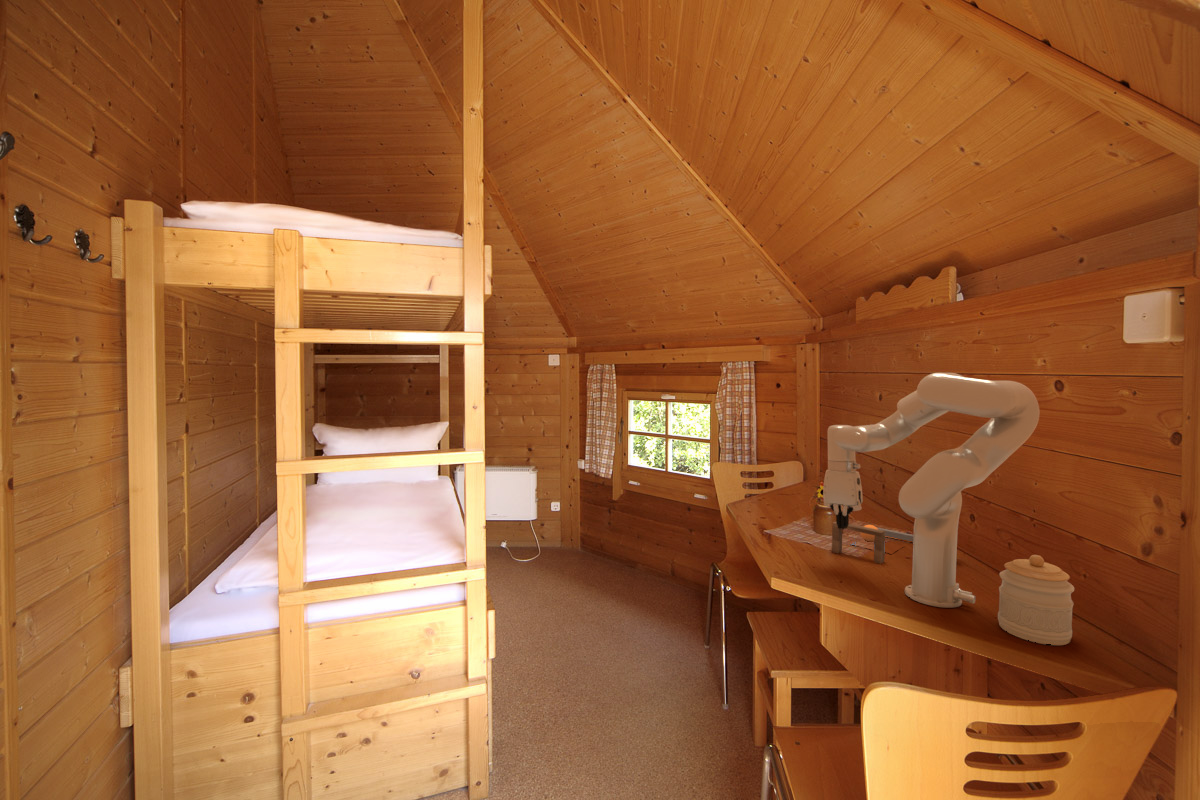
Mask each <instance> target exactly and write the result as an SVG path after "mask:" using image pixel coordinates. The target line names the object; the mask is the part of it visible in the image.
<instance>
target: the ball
mask: <svg viewBox="0 0 1200 800" xmlns="http://www.w3.org/2000/svg"><path fill="white" fill-rule="evenodd" d="M863 527H867V528H872V529H877V530H878V528H879V527H876V526H875V525H874V524H867V525H866V524H865V525H863ZM860 537H861V539H862V538H863V539H864V540H865V541H867V542H874V538H875V535H870V534H866V533H861V532H860Z"/></svg>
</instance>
